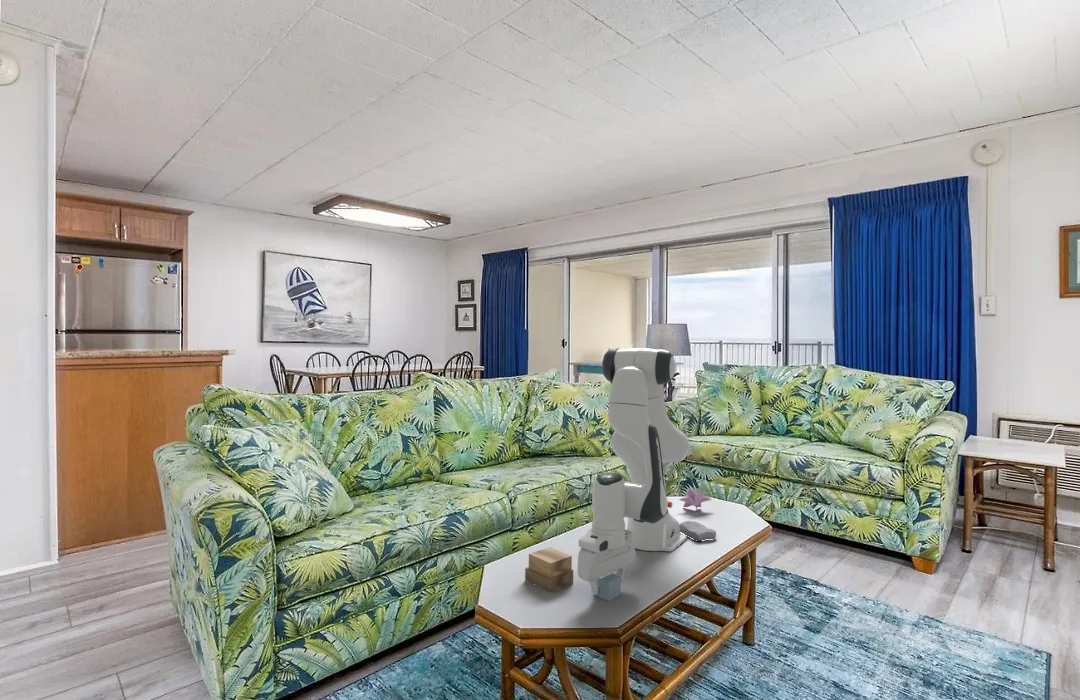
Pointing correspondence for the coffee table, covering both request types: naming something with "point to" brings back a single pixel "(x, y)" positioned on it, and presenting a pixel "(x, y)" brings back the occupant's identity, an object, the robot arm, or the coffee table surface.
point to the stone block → (697, 530)
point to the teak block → (550, 562)
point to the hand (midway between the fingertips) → (607, 587)
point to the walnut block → (548, 579)
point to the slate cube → (609, 586)
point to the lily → (694, 498)
